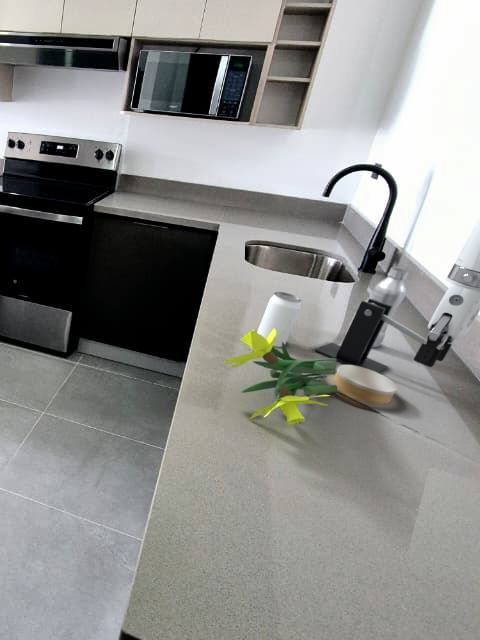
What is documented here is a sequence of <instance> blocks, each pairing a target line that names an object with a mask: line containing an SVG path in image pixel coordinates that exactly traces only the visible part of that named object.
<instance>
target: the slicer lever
mask: <svg viewBox="0 0 480 640" xmlns="http://www.w3.org/2000/svg"><path fill="white" fill-rule="evenodd" d="M371 304H374V305H376V304H375V303H371ZM377 306H378V305H377ZM381 320H383V321H385V322H386V323H388V325H390V326H392V327H393V328H394V329H396V330H398V331H400V332H401V333H403V334H405V335H406V336H408V337H409V338H411V339H412V340H414V341H416V342H418V343H419V344H421V345H422V343H423V342H424V341H425V339H426V338H425V337H424V336H422V335H421V334H418V333H417V332H415V331H414V330H412V329H410V328H408V327H407V326H406V325H404V324H402V323H400V322H399V321H397V320H395V319H393V317H391V318H390V317H388V316H387V315H385V314H383V315H382V317H381ZM443 349H445V345H444V344H443V346H442V348H441V350H443Z"/></svg>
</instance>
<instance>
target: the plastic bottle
mask: <svg viewBox="0 0 480 640" xmlns="http://www.w3.org/2000/svg"><path fill="white" fill-rule="evenodd" d="M409 273H410V272H409V270H406V269H403V268H399V267H394V266H393V267H390V269H389V271H388V273H387V274H386V276H387V277H385V278H383V279H381V280H380V281H378V282H377V283H376V284H375V285H374V286H373V290H372V292H371V296H370V299H373V300H376V301H379V302H382V303H385V304H388V305H391V306H392V308H391V311H390V313H389V315H388V317H390V318H393V316H394V314H395V312H396V310H397V308H398V307H399V305H401V303H402V302H403V300H404V298H405V297H406V295H407V289H406V285H405V282H404V281H407V279H408V276H409ZM388 326H389V324H388V323H386V322H385V323H384V325H383V327H382V329H381V331H380V333H379V335H378V337H377V339H376V341H375V343H374V345H373V347H372V349H373V348H377V347H380V346H381V344H382V343H383V342H384V339H385V336H386V331H387V328H388Z"/></svg>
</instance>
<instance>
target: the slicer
mask: <svg viewBox="0 0 480 640" xmlns="http://www.w3.org/2000/svg"><path fill="white" fill-rule="evenodd" d="M371 303H375V304H376V305H374V304H371ZM377 305H378V306H377ZM391 308H392V306H391V305H388V304H385V303H382V302H379V301H376V300H373V299H371V298H368V300H367V301H365V300H362V301H361V302H360V304H359V306H358V308H357V310H356V312H355V315H354V317H353V319H352V321H351V323H350V325H349V327H348V329H347V331H346V334H345V335H344V338H343V340H342V342H341V344H340V345H339V344H336V343H333V342H331V343H327V344H325V345H323V346H321V347H318V348H315V349H314V353H317V354H319V355H322V356H324V357H325V358H335V359H337V360H336V361H335V362H336V363H339V364H340V365H354V366H359V367H363V368H366V369H369V370H372V371H375V372H377V373H379V374H380V373H381V372H383V371H385V370H387V368H388V367H389V366H388V365H385V364H383V363H381V362H378V361H376V360H374V359H372V358H369V354H370V353H371V351H372V349H373V345H374V343H375V341H376V339H377V337H378V335H379V333H380V331H381V329H382V327H383V325H384V323H385V321H383V320H381V317H382V315H383V314H385V315H387V316H388V315H389V313H390V311H391Z"/></svg>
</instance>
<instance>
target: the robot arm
mask: <svg viewBox="0 0 480 640" xmlns="http://www.w3.org/2000/svg"><path fill="white" fill-rule="evenodd" d="M445 280H446V281H447V282H448V283H450V285H449V286H448V288H447V290H446V291H445V292H444V295H443V296H442V299H441V300H440V301H439V304H438V305H437V307H436V309H435V311H434V313H433V314H432V316H431V318H430V321H429V322H428V325H427V329H428V330H429V333H428V334H427V336H426V338H425V341H424V342H423V343H422V344H421V345H420V347H419V349H418V350H417V352H416V354H415V356H414V358H413V361H414V362H416V363H418V364H421V365H423V366H425V367H429V368H433V367H434V365H435V363H436V362H437V361H438V362H442V361H444V359H445V357H446V356H447V354H448V352H449V351H450V349H451V347H452V345H453V342H454V341H455V339H460V338H461V337H463V336H465V335H466V334H468V333H469V332H470V330H471V328H472V327H473V324H474V322H475V320H476V319H477V317H478V315H479V313H480V217H478V219H477V221H476V223H475V225H474V227H473V228H472V230H471V231H470V234H469V236H468V238H467V240H466V241H465V243H464V245H463V247H462V249H461V251H460V252H459V255H458V256H457V258H456V260H455V261H454V264H453V265H452V267H451V269H450V271H449V273H448V275H447V276H446V278H445ZM443 344H444V345H445V349H443V350H441V348H442V346H443Z"/></svg>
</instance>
